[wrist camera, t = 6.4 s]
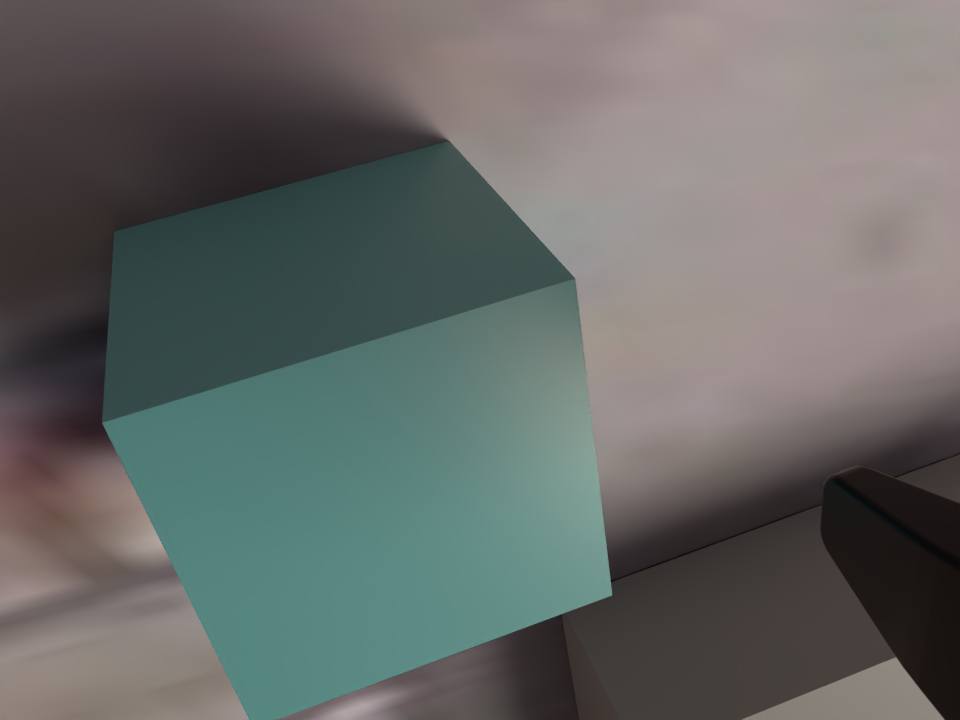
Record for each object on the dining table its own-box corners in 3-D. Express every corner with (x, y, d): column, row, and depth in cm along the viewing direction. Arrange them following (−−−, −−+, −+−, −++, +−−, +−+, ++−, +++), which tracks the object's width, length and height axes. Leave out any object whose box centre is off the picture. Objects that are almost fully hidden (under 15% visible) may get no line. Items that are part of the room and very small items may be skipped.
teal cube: (497, 401, 17) (612, 595, 13) (225, 489, 16) (252, 727, 12) (447, 138, 14) (574, 278, 10) (114, 229, 13) (102, 422, 9)
